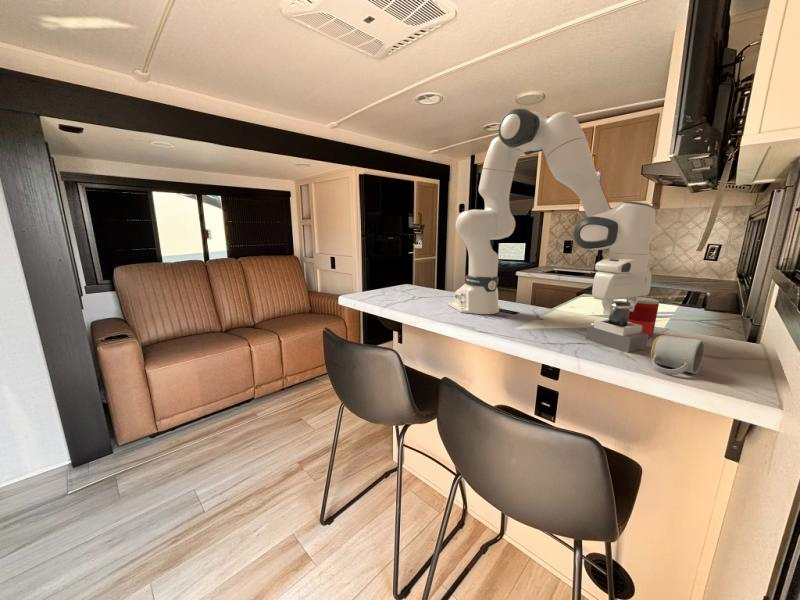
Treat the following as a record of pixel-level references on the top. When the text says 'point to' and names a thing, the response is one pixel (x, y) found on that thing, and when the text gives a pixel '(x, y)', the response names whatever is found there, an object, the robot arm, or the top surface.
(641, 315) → the canned food
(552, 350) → the top surface
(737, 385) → the top surface
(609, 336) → the grey tissue box
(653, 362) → the ceramic mug
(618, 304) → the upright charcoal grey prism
